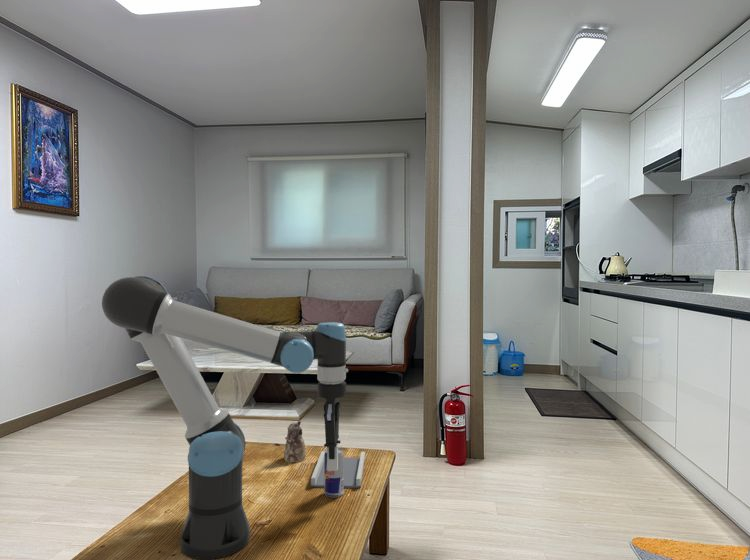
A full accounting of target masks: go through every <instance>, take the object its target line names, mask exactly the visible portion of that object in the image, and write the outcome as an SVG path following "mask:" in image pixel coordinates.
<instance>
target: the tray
mask: <svg viewBox="0 0 750 560" xmlns="http://www.w3.org/2000/svg"><path fill="white" fill-rule="evenodd" d="M324 454H325V450H321V452H320V454H319V457H318V460H317V463H316V465H315V467H314V468H313V469H314V470H313V472H312V474H311V478H310V488H324ZM365 462H366V452H365V451H360V456H359V457H344V489H345V488H346V489H361V488H362V481H363V480H362V479H363V473H364V467H365Z"/></svg>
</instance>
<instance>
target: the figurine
mask: <svg viewBox="0 0 750 560" xmlns="http://www.w3.org/2000/svg"><path fill="white" fill-rule="evenodd" d="M301 423H302V422H301V420H298V421H297V422H291V423H290V424H289V425H288V427H287V436H286V437H285V441H286V442H285V445H284V446H285V447H284V452H283V455H284V456H283V457H284V459H283V460H285V461H284V462H286V461H287V462H286V463H289V462H298V463H301V462H303V461H305V460H306V458H307V457H306V456H307V451H306V444H305V440H304V438H303V429H302V427H301Z"/></svg>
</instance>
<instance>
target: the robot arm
mask: <svg viewBox="0 0 750 560" xmlns="http://www.w3.org/2000/svg"><path fill="white" fill-rule="evenodd" d="M101 307H102V312H103V313H104V316H105V317H106V319H108V321H109V322H111V324H114V325H115V326H117V327H119V328H122V329H125V331H126V333H127V334H128V336H129V339H130V340H131V341H134V342H138V343H140V344H141V345H142V347H143V350H144V351H145V353H146V354H147V356H148V359H149V361H150V362H151V364H152V366H153V367H154V369H155V371H156V373H157V375H158V376H159V378H160V381H161V382H162V384H163V385H164V388H165V390H167V393H168V395H169V396H170V398H171V400H172V402H173V404H174V405H175V407H176V409H177V411H178V413H179V415H180V417H181V418H182V420H183V422H184V423H185V425H186V430H185V434H184V438H185V440H186V441H187V443H188V445H189V448H188V453H187V463H188V513H187V516H186V519H185V522H184V526H183V529H182V532H181V535H180V550H181V552H182V553H183V554H184V555H185V556H186V557H189V558H192V559H196V560H214V559H215V560H216V559H220V558H225V557H227V556H231V555H233V554H235V553H237V552H239V551H241V550H243V548H245V547H246V546H247V544H249V542H250V539H251V525H250V522H249V520H248V516H247V514H246V511H245V508H244V506H243V465H244V456H245V450H246V438H245V434H244V432H243V430H242V428H241V427H240V426H239V425H238V424H237V423H236V422H235V421H234V420H233V418H232V416H231V415H230V413H229V411H228V410H226V409H221V408H220V407H219V406H218V403H217V402H216V400H215V399H214V396H213V395H212V392H211V390H210V389H209V387H208V385H207V384H206V381H205V380H204V377H203V376H202V375H201V372H200V370H199V369H198V367H197V365H196V363H195V361H194V360H193V357H192V356H191V354H190V351H189V350H188V348H187V347H186V344H185V342H184V341H183V339H184V340H187V341H192V342H194V343H199V344H202V345H205V346H210V347H213V348H217V349H220V350H224V351H227V352H230V353H234V354H237V355H242V356H245V357H249V358H253V359H256V360H260V361H263V362H265V363H266V362H267V363H270V364H273V365H276V366H280V367H283V368H284V369H286V370H287V371H288V372H291V373H295V374H297V373H298V374H299V373H303V372H305V371H307V370H308V369H309V368H310V367H311V366H312V363H313V362H314V360H316V361H317V365H316V369H317V372H316V373H317V374H316V375H317V377H316V379H317V381H318V383H317V396H318V398H319V397H320V398H321V399H325V400H326V401H325V403H324V404H323V411H324V414H323V418H324V419H323V420H324V430H325V431H324V432H325V433H324V434H325V443H324V445H323V447H324V448H326V450H327V471H337V470H338V448H339V444H341V440H339V437H340V436H339V433H340V432H339V430H340V429H339V428H340V425H339V424H340V422H339V421H340V408H341V401H339V399H340V398H344V397H346V395H347V382H346V381H345V380H346V378H347V373H349V369H348V368H346V367H347V366H346V365H347V338H346V326H345V325H344V324H343V323H341V322H336V321H331V322H330V321H329V322H326V321H325V322H320V323H318V324H317V327H316V330H310V331H308V330H307V331H284V330H283V331H278V330H275V329H271V328H267V327H265V326H264V327H263V326H262V325H258V324H253V323H251V322H247V321H244V320H240V319H238V318H234V317H232V316H228V315H224V314H220V313H218V312H214V311H212V310H211V311H210V310H207V309H204V308H201V307H198V306H194V305H192V304H191V305H190V304H188V303H184V302H182V301H177V300H175V299H173V298H172V296H171V294H170V293H168V291H167V289H166V287H165V286H164V285H163V284H162V283H161V282H159V281H158V280H156V279H154V278H153V277H149V276H145V275H142V276H140V275H137V276H133V277H132V276H131V277H123V278H120V279H117V280H115V281H113V282H112V283H111V284H110V285H109V286H108V287H107V288H106V289H105V290H104V293H103V295H102V300H101Z"/></svg>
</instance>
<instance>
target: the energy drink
mask: <svg viewBox="0 0 750 560" xmlns="http://www.w3.org/2000/svg"><path fill="white" fill-rule="evenodd" d="M324 451H325V454H324V487H323V489H324V492H323V493H324V495H325V496H326V497H328V498H332V499H333V498H340V497H342V496H343V495H344V492H345V490H344V489H345V488H344V458H345V453H344V449H342V448H340V447H338V470H337V471H327V449H325V450H324Z"/></svg>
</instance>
